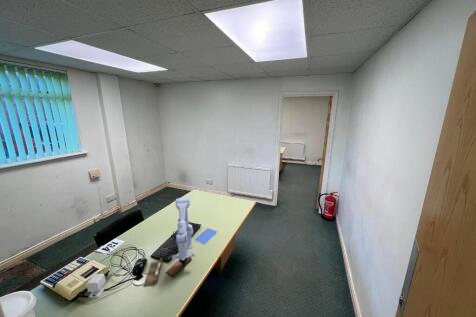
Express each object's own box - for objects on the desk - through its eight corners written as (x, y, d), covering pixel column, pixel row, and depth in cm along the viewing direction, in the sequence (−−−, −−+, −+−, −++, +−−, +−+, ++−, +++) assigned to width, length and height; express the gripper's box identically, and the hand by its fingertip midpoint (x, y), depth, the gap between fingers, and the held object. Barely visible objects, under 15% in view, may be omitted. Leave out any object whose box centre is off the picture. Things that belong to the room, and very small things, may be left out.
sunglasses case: (183, 255, 139) (186, 251, 136) (189, 262, 137) (192, 258, 134) (164, 273, 124) (166, 268, 121) (171, 281, 122) (173, 277, 119)
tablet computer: (205, 245, 150) (204, 244, 150) (193, 240, 156) (193, 239, 156) (218, 232, 167) (218, 231, 166) (207, 228, 173) (207, 227, 172)
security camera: (107, 286, 115) (104, 273, 112) (99, 297, 108) (96, 284, 105) (96, 287, 114) (93, 274, 112) (88, 298, 108) (84, 284, 105)
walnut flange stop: (151, 263, 132) (150, 259, 131) (162, 262, 133) (162, 257, 132) (143, 286, 115) (142, 281, 114) (156, 284, 116) (155, 279, 115)
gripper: (170, 255, 119) (172, 272, 122) (193, 252, 121) (194, 269, 124) (172, 247, 125) (174, 264, 129) (194, 244, 128) (195, 261, 131)
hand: (184, 266), depth 127 cm, fingers closed
